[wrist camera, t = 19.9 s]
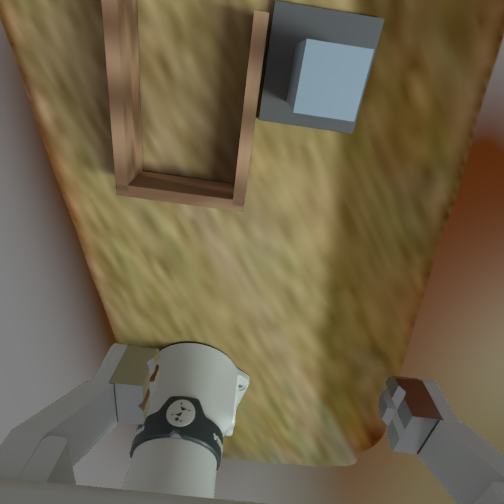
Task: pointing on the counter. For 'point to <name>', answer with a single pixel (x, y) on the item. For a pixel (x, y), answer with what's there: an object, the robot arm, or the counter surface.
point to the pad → (283, 50)
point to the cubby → (129, 117)
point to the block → (328, 79)
